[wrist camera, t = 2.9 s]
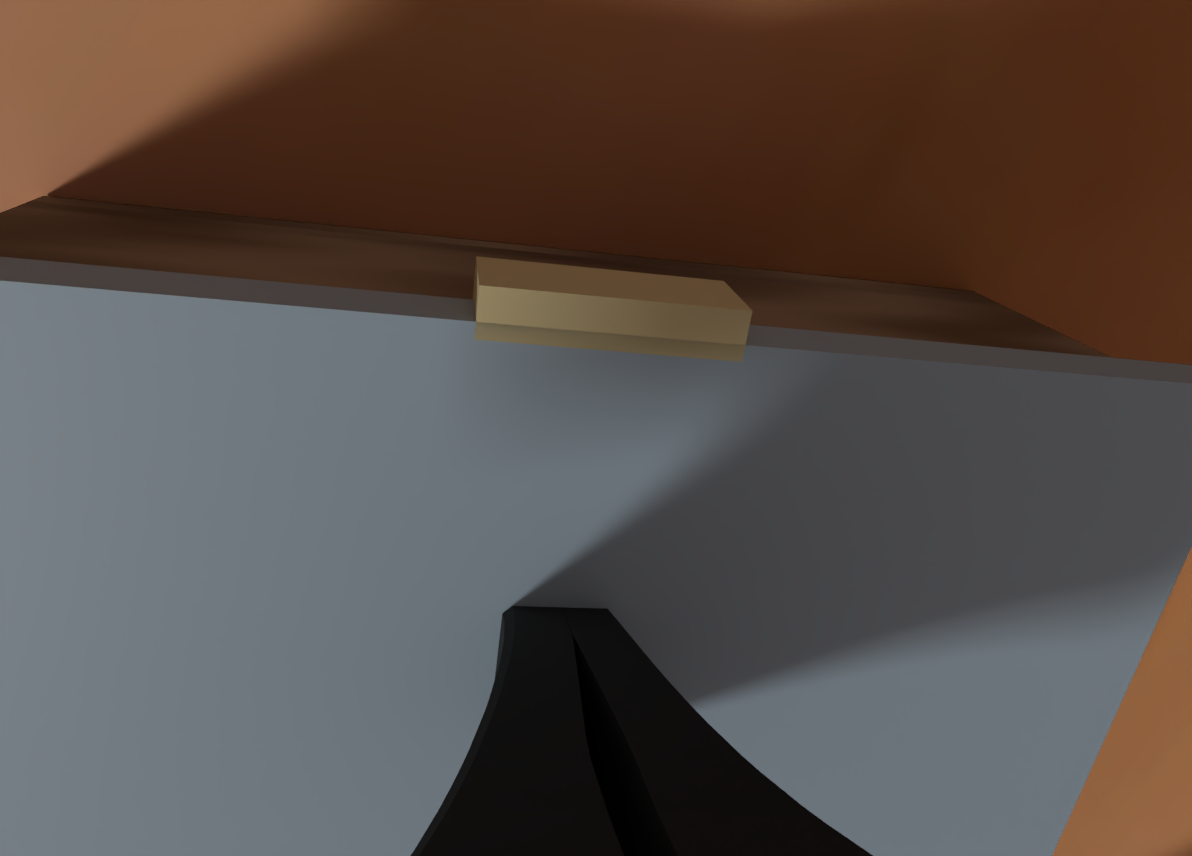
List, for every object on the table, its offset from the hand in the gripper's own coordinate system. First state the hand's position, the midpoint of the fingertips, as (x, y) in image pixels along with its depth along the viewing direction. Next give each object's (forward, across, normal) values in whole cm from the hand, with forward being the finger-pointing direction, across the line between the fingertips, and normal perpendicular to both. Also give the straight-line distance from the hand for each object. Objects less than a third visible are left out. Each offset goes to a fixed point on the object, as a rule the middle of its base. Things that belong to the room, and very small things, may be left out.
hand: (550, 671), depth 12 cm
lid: (+1, 0, +1) cm, 2 cm away
